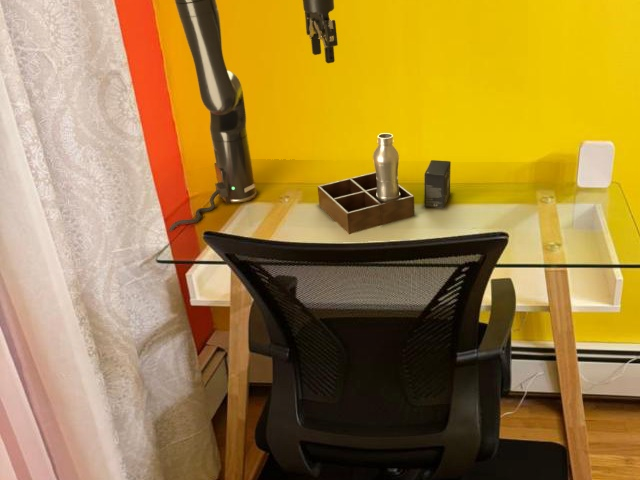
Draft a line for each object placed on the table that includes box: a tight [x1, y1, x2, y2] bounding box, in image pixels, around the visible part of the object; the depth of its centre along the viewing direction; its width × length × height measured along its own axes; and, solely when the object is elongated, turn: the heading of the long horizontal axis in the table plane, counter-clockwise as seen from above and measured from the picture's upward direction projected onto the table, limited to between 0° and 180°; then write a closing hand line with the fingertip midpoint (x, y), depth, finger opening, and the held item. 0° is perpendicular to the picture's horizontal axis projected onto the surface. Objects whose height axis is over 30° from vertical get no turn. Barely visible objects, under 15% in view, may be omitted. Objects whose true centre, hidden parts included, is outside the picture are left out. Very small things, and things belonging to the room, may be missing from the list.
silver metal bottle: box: [372, 132, 401, 204], centre depth 199 cm, size 6×7×20 cm
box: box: [423, 159, 452, 209], centre depth 207 cm, size 9×6×10 cm, turn 167°
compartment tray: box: [317, 171, 416, 235], centre depth 205 cm, size 19×19×6 cm
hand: (323, 58), depth 201 cm, fingers open, 8 cm apart
